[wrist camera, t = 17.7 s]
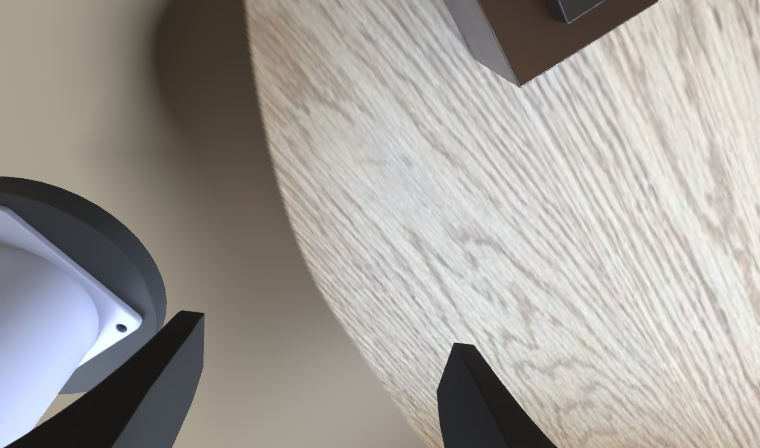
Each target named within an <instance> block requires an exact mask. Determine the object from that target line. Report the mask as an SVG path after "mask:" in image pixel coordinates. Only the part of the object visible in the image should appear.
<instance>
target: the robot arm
mask: <svg viewBox="0 0 760 448" xmlns="http://www.w3.org/2000/svg"><path fill="white" fill-rule="evenodd" d="M141 323H142V318H141V316H140V315H139V314H138V313H137V312H136V311H134V310H133V309H132V308H131V307H130V306H128V305H127V304H126V303H125V302H123V301H122V300H121V299H120V298H119V297H117V296H116V295H115V294H114V293H112V292H111V291H110V290H109V289H107V288H106V287H105V286H104V285H103V284H101V283H100V282H99V281H98V280H96V279H95V278H94V277H93V276H92V275H90V274H89V273H88V272H87V271H85V270H84V269H83V268H82V267H81V266H79V265H78V264H77V263H76V262H74V261H73V260H72V259H71V258H70V257H68V256H67V255H66V254H65V253H63V252H62V251H61V250H60V249H59V248H57V247H56V246H55V245H54V244H52V243H51V242H50V241H49V240H48V239H46V238H45V237H44V236H43V235H41V234H40V233H39V232H38V231H37V230H35V229H34V228H33V227H32V226H30V225H29V224H28V223H27V222H26V221H24V220H23V219H22V218H21V217H19V216H18V215H17V214H16V213H15V212H13V211H12V210H11V209H9V208H8V207H5V206H2V205H0V448H172V446H173V444H174V442H175V440H176V437H177V435H178V433H179V431H180V428H181V426H182V424H183V421H184V419H185V417H186V415H187V412H188V410H189V408H190V406H191V403H192V401H193V398H194V395H195V392H196V388H197V385H198V382H199V379H200V376H201V373H202V369H203V354H204V313H199V312H191V311H180V312H178V313H177V314H176V315H175V316H174V317H173V318H172V319H171V320H170V321H169V322H168V323H167V324H166V325H165V326H164V327H163V328H162V329H161V330H160V331H159V332H158V333H157V334H156V335H154V336H153V337H152V338H151V339H150V340H149V341H148V342H147V343H146V344H145V345H144V346H143V347H141V348H140V349H139V350H138V351H137V352H136V353H135V354H133V355H132V356H131V357H130V358H129V359H128V360H127V361H126V362H124V363H123V364H122V365H121V366H120V367H119V368H117V369H116V370H115V371H114V372H112V373H111V374H110V375H109V376H107V377H106V378H105V379H104V380H102V381H101V382H100V383H99V384H97V385H96V386H95V387H94V388H92V389H91V390H90V391H88V392H87V393H86V394H84V395H83V396H82V397H80V398H79V399H78V400H76V401H75V402H73V403H72V404H71V405H69V406H68V407H66V408H65V409H63V410H62V411H61V412H59V413H58V414H56V415H55V416H53V417H52V418H50V419H49V420H47V421H45V422H44V423H42V424H41V425H40V426H38V427H36V428H35V429H33V428H34V426H35V425H36V423H37V422H38V421H39V419H40V418H41V416H42V415H43V414H44V412H45V411H46V410H47V408H48V407H49V405H50V404H51V403H52V401H53V400H54V398H55V397H56V396H57V394H58V393H59V392H60V390H61V389H62V387H63V386H64V385H65V383H66V382H67V380H68V379H69V378H70V376H71V375H72V374H73V372H74V371H75V369H76V368H78V367H79V366H81V365H82V364H84V363H85V362H87V361H88V360H90V359H92V358H93V357H95V356H96V355H98V354H99V353H101V352H102V351H104V350H105V349H107V348H109V347H110V346H112V345H113V344H115V343H116V342H118V341H119V340H121V339H123V338H124V337H126V336H127V335H129V334H130V333H132V332H133V331H135V330H136V329H138V328H139V326H140V325H141ZM121 324H123V325H125V326H126V327H124V326H122V325H121ZM437 400H438V412H439V421H440V428H441V433H442V437H443V442H444V446H445V448H557V447H556V446H555V445H554V444H553V443H552V442H551V441H550V440H549V439H548V437H547V436H546V435H545V434H544V433H543V432H542V431H541V430H540V429H539V427H538V426H537V425H536V424H535V423H534V422H533V421H532V419H531V418H530V417H529V416H528V415H527V414H526V412H525V411H524V410H523V409H522V408H521V406H520V405H519V404H518V403H517V401H516V400H515V399H514V398H513V396H512V395H511V394H510V393H509V391H508V390H507V389H506V387H505V386H504V385H503V383H502V382H501V381H500V380H499V378H498V377H497V375H496V374H495V373H494V371H493V370H492V369H491V367H490V366H489V365H488V363H487V362H486V361H485V359H484V358H483V357H482V355H481V354H480V353H479V351H478V350H477V349H476V347H475V346H474V345H471V344H462V343H454V344H453V347H452V350H451V353H450V355H449V358H448V361H447V364H446V367H445V369H444V372H443V375H442V378H441V380H440V383H439V386H438V389H437ZM32 429H33V430H32Z"/></svg>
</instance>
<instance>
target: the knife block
mask: <svg viewBox="0 0 760 448" xmlns="http://www.w3.org/2000/svg"><path fill="white" fill-rule="evenodd" d="M444 1H445V3H446V5H447V7H448V9H449V11H450V13H451V15H452V17H453V19H454V21H455V23H456V24H457V26H458V28H459V30H460V32H461V34H462V36H463V38H464V40H465V42H466V44H467V46H468V48H469V49H470V51H471V53H472V55H473V57H474V59H475V60H477V61H478V62H480V63H481V64H483V65H484V66H486V67H488V68H489V69H491V70H492V71H494V72H495V73H497V74H499V75H500V76H502V77H503V78H505V79H506V80H508V81H510V82H511V83H513V84H514V85H516V86H517V87H519V88H521V87H523V86H524V85H526V84H527V83H529V82H531V81H532V80H534V79H535V78H537V77H539V76H540V75H542V74H543V73H545V72H547V71H548V70H550V69H551V68H553V67H555V66H556V65H558V64H559V63H561V62H563V61H564V60H566V59H567V58H569V57H571V56H572V55H574V54H575V53H577V52H579V51H580V50H582V49H583V48H585V47H587V46H588V45H590V44H591V43H593V42H594V41H596V40H598V39H599V38H601V37H602V36H604V35H606V34H607V33H609V32H610V31H612V30H614V29H615V28H617V27H618V26H620V25H622V24H623V23H625V22H626V21H628V20H630V19H631V18H633V17H634V16H636V15H638V14H639V13H641V12H642V11H644V10H646V9H647V8H649V7H650V6H652V5H654V4H655V3H657V2H658V0H444Z"/></svg>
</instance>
